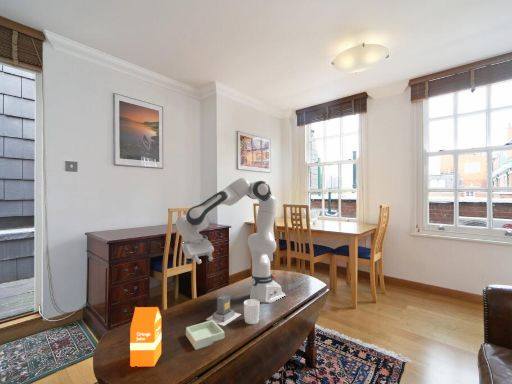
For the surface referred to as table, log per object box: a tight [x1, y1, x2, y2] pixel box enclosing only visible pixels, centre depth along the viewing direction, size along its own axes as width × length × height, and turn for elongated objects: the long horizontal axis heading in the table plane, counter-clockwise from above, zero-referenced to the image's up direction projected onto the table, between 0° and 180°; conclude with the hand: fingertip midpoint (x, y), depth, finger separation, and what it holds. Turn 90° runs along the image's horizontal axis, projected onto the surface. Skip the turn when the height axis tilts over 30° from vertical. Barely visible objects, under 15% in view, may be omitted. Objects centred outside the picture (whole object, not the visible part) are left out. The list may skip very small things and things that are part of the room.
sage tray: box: [185, 320, 226, 351], centre depth 113 cm, size 13×13×4 cm
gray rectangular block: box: [216, 294, 231, 316], centre depth 130 cm, size 6×4×10 cm
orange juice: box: [129, 306, 162, 368], centre depth 98 cm, size 8×9×20 cm
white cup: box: [243, 298, 261, 325], centre depth 127 cm, size 8×8×10 cm
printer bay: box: [205, 308, 242, 327], centre depth 130 cm, size 14×12×4 cm
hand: (206, 261), depth 137 cm, fingers open, 8 cm apart
